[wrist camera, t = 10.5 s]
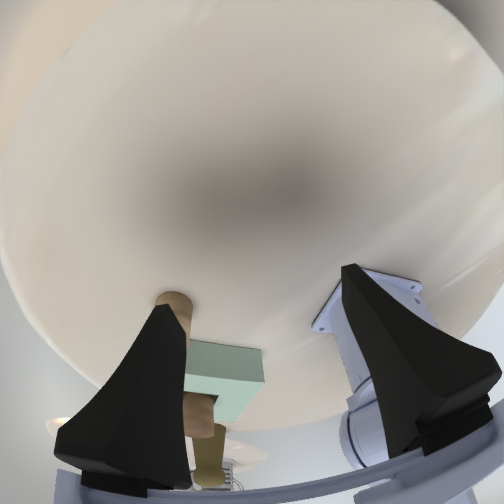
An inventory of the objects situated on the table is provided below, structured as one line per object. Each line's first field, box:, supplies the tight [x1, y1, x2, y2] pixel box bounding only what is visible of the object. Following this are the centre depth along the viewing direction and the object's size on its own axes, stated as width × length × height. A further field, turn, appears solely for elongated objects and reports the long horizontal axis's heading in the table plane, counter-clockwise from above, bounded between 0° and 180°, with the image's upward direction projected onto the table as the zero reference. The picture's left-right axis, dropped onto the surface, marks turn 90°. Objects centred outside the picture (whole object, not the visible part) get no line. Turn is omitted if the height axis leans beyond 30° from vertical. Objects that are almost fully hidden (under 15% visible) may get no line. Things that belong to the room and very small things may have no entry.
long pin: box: [183, 391, 214, 438], centre depth 28 cm, size 3×3×8 cm
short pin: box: [156, 292, 192, 348], centre depth 23 cm, size 3×3×4 cm
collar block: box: [183, 340, 265, 422], centre depth 29 cm, size 11×11×4 cm
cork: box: [192, 423, 226, 487], centre depth 38 cm, size 6×6×11 cm
